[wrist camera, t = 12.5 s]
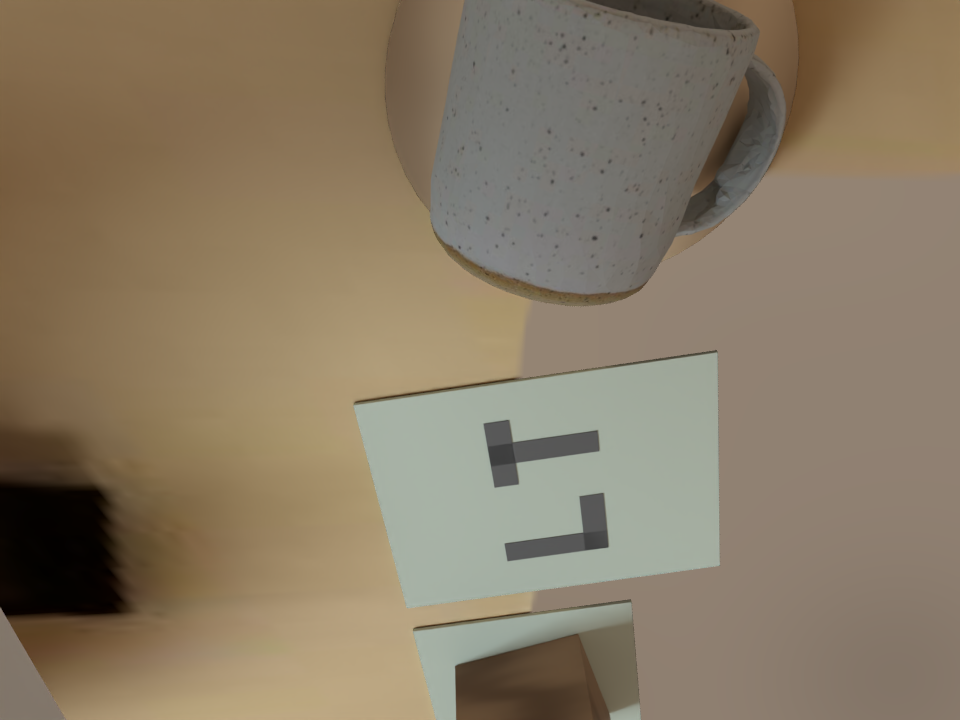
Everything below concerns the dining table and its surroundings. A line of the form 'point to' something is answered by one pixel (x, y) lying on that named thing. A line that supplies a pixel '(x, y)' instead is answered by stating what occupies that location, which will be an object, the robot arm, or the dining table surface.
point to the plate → (596, 625)
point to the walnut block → (531, 685)
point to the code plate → (549, 479)
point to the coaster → (428, 61)
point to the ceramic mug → (593, 139)
